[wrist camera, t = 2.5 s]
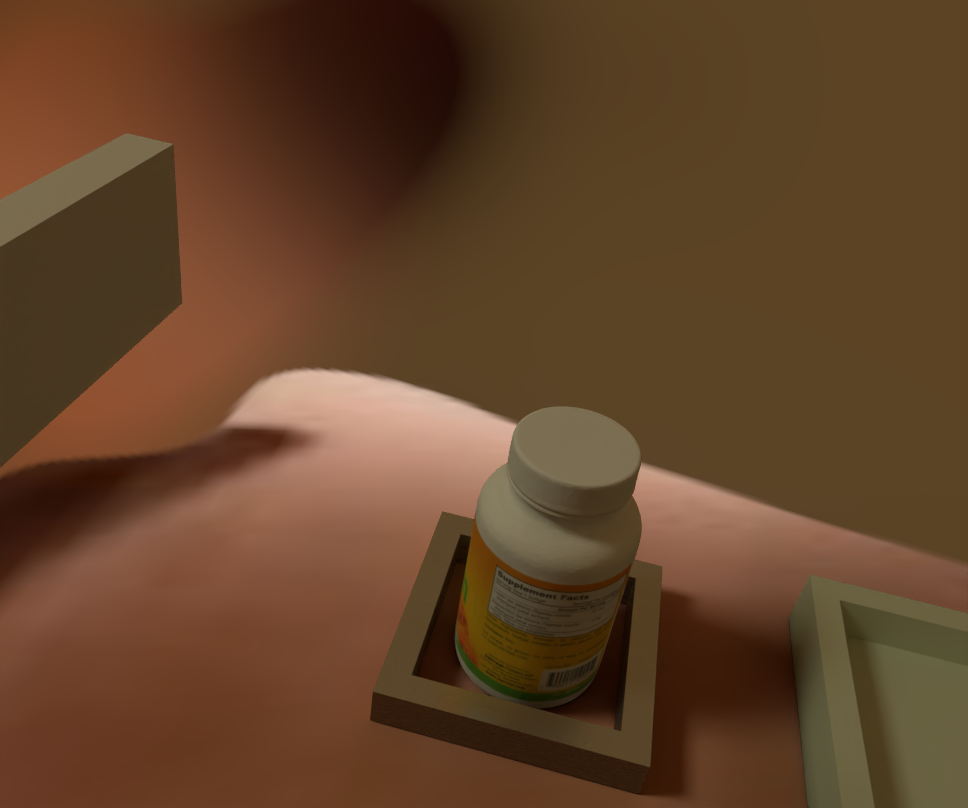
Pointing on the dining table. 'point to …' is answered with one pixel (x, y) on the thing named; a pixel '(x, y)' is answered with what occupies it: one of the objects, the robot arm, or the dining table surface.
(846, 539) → the dining table surface
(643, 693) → the holder ring
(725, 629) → the dining table surface
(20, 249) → the robot arm
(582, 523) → the supplement bottle
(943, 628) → the tray
